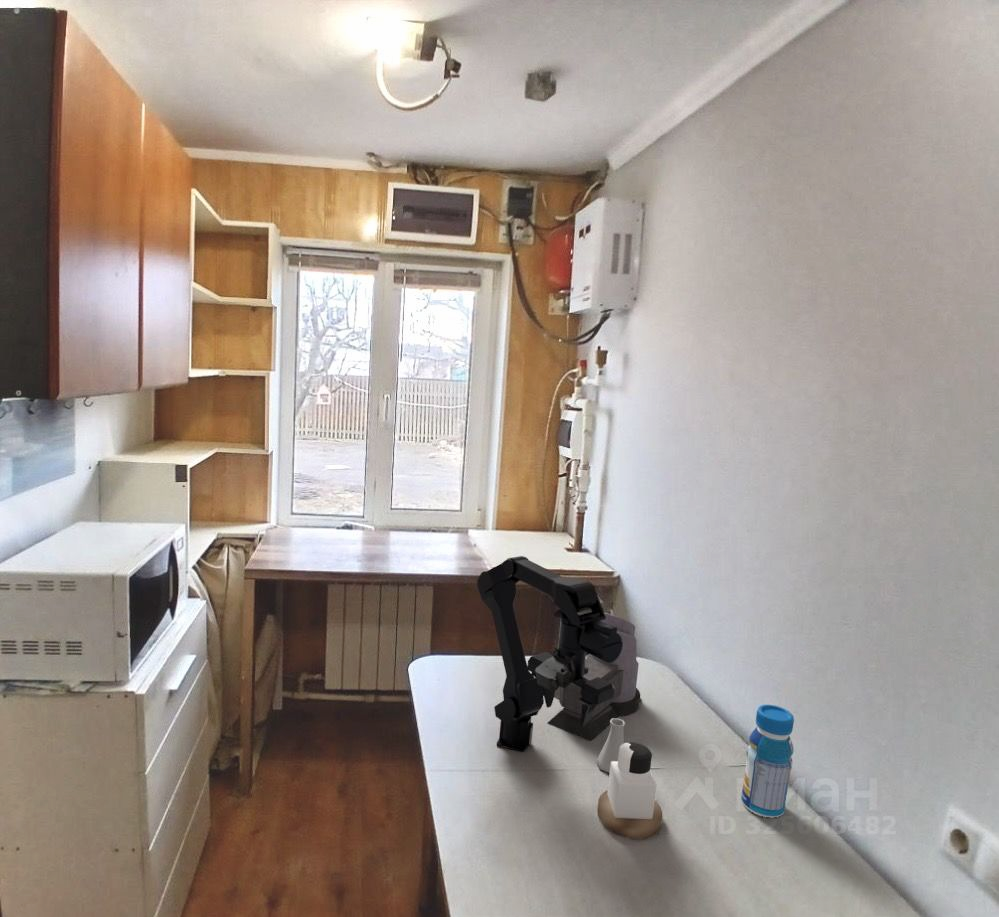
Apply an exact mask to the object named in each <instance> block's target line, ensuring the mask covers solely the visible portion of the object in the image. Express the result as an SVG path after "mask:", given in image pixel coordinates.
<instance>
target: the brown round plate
mask: <svg viewBox="0 0 999 917" xmlns="http://www.w3.org/2000/svg"><path fill="white" fill-rule="evenodd" d="M607 792H608V789H607V790H605V791H603V793H602V792H601V794H600V796H599V798H598V802H597V810H596V813H597V818H598V820H599V821H600V823H601V824H602V825H603V827H605V828H606V829H607V830H608V831H610V832H611V833H613V834H615V835H618V836H620V837H623V838H627V839H631V840H632V839H633V840H645V839H650V838H652V837H654V836H655V835H657V834H658V833H659V832H660V831H661V828H662V823H663V810H662V808H661V806H660V804H659V803H658V802H657V801H656V800H655V802H654V810H653V818H652V819H628V818H615V816H614V813H613V810H612V807H611V804H610V801H609V798H608V795H607Z"/></svg>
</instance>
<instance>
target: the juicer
mask: <svg viewBox="0 0 999 917" xmlns="http://www.w3.org/2000/svg"><path fill="white" fill-rule="evenodd" d="M604 614H605V616H606V619H605V620H601V622H604V623H606V624H608V625H613V626H615V627H617V634H619V635H620V636H621V639H622V642H623V646H622V650H621V653H620V655H619V656H618V658H617V659H616V660H615V661H614V662H612V663H607V662H605V661H603V660H601V659H599V658H597V657H595V656H593V655H591V654H588V655H586V660H585V667H587V668H589V669H588V673H587V674H585V675H584V678H586V679H588V680H592V679H595V678H597V677H599V678H601V679H603V680H605V681H608V682H610V683H612V685H613V686H614V697H613V698H611V699H609V700H607V701H605V702H602V703H600V704H599V705H598V706H597V707H596V709H595V710H594V712H593V714H592V715H591V717H590V719H589V720H588V722H587V723H586V725H585V726H583V727H582V726H581V711H582V703H581V701H580V700H579V698H581V697H582V696H581V694H580V693H581V687H579V686H577V685H575V684H573V683H570V684H569V685H568V686H567V687H566V688H562V687H559V688H558V689H557V690H556V691H555V694H554V699H556V700H558V702H559V704H560V707H562V709H560V711H559V712H558V713H557V714H555V715H554V716H553V717H552V718H551V719H550V720H548V721H547V722H546V724H547V725H550V726H552V727H555V728H557V729H559V730H562V731H564V732H566V733H569V734H571V735H574V736H576V737H579V738H580V739H582V740H585V741H588V742H590V743H592V742H593V741H594V740H595V739H596V738H598V736H600V735H601V734H602V733H603V732H604V731H605V730H607V728H609V727H611V724H610V720H611V719H612V718H618V719H620V718H621V717H628V716H632V715H633V714H635V713H637V712H638V711H639V708H640V705H641V703H642V702H643V699H642V698H641V692H640V690H639V688H638V687H637V682H638V681H637V680H638V673H639V664H640V663H639V661H637V638H636V637H635V635H636V634H635V631H636V626H635V624H634V623H632V622H631V621H629V620H627V619H625V618H622V617H620V616H617V615H614V614H611V613H608V612H604Z"/></svg>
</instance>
